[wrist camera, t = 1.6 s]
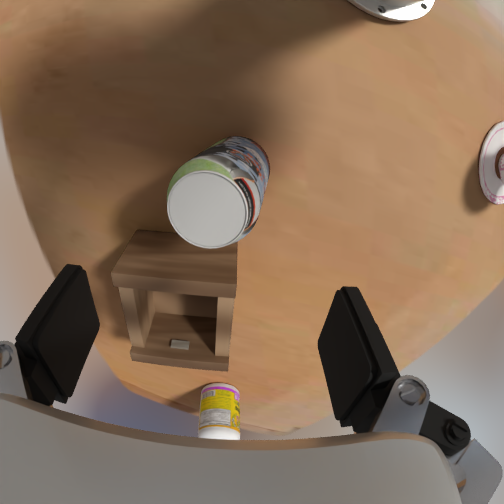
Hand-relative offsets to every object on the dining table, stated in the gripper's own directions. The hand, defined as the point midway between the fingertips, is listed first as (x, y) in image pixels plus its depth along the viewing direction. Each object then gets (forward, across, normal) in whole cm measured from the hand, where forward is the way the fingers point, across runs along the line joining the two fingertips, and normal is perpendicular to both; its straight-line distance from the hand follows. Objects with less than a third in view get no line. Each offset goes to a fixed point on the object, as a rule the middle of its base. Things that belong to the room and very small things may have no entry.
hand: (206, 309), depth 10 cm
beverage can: (+20, 0, 0) cm, 20 cm away
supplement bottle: (+20, -1, +38) cm, 43 cm away
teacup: (+20, -36, -8) cm, 41 cm away
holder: (+20, +4, +14) cm, 24 cm away
